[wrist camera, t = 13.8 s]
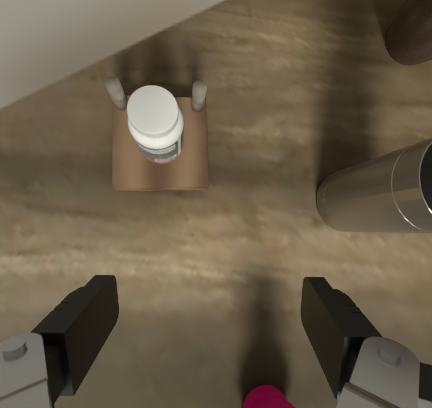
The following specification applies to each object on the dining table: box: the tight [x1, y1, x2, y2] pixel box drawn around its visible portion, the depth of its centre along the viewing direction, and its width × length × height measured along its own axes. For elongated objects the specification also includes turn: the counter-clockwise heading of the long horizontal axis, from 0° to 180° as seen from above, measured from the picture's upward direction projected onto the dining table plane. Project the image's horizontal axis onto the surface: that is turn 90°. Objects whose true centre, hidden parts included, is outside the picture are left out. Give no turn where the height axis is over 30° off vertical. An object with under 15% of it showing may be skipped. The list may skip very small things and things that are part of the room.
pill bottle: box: [127, 85, 184, 163], centre depth 29 cm, size 6×6×10 cm
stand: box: [105, 76, 209, 191], centre depth 33 cm, size 12×12×8 cm
